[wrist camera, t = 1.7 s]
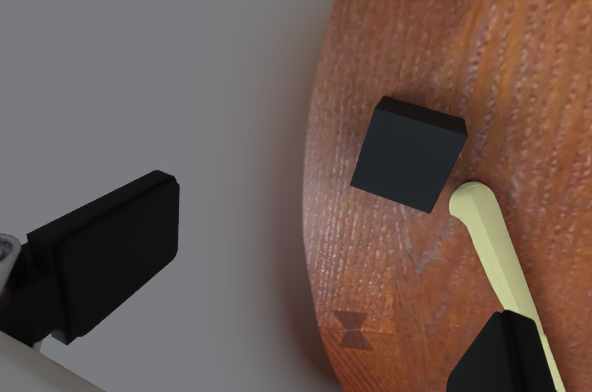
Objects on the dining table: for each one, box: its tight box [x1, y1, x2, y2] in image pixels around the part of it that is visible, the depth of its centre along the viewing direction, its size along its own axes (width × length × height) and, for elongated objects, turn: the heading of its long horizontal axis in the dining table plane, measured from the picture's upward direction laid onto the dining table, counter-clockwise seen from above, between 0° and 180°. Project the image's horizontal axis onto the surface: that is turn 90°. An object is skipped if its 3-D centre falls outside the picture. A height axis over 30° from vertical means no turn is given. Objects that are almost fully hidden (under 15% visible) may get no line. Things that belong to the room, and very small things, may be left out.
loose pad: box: [350, 96, 468, 214], centre depth 21 cm, size 5×5×4 cm
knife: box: [449, 181, 566, 392], centre depth 26 cm, size 1×34×5 cm
